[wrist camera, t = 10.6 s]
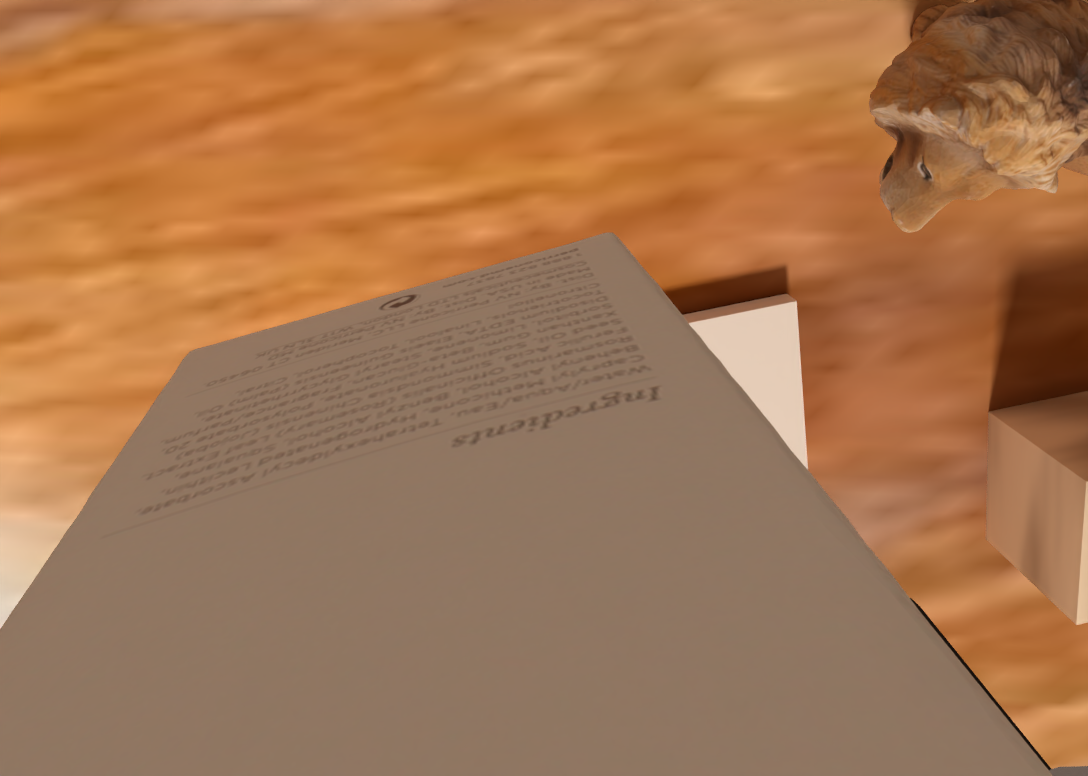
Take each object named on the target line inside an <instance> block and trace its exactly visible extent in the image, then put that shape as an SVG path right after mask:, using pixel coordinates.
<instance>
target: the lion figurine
mask: <svg viewBox="0 0 1088 776" xmlns="http://www.w3.org/2000/svg"><path fill="white" fill-rule="evenodd" d="M870 98H871V99H870V101H869V105H870V112H871V114H872V115H873V116H874V117H875V123H876V124H877V125H878V126H879V127H881V128H883V129H885V131H886V132H887V133H888V134H889V135H890V136H892V137H893V138H895V139H896V140H897V145H896V148H895V150H894V151H893V153H892V154H891V155H890V157H889V158H888V160H887V162H886V165H885V166H884V168H883V169H882V171H881V173H880V185H881V186H880V196H881V198H882V200H883V202H884V204H885V205H886V207H887V208H888V210H889V211H890V212H891V214H892V220H893V221H894V222H895V223H896V225H897V226H898V227H899V228H900V229H901V230H903V231H904V232H915V231H918V230H920V229H921V228H922V227H923V226H924V225H925V224H926V223H927V222H928V221H929V220H930V219H931V218H932V217H933V216H934V215H935V214H936V213H937V212H938V211H940V210H941V209H942V208H943V207H944V206H946V205H947V204H948V203H949V202H951V201H952V200H956V199H966V200H968V199H970V200H982V199H984V198H986V197H988V196H989V195H990V194H992V193H993V192H994V191H996V190H998V189H1000V188H1007V189H1030V188H1037V189H1042V190H1046V191H1048V192H1051V193H1056V191H1057V187H1058V175H1057V171H1058V170H1059V169H1060V168H1061V167H1064V168H1066V169H1069V170H1072V171H1075V172H1078V173H1081V174H1084V175H1087V176H1088V3H1086V2H1084V1H1082V0H976V1H975V2H972V3H967V2H961V3H959V4H956V5H954V6H951V7H950V8H949V7H947V6H945V5H936V6H933V7H931V8H928V9H926V10H924V11H923V12H922V13H921V14H920V15H919V16H918V17H917V19H916V20H915V21H914V24H913V32H912V43H911V44H910V45H909V47H908V48H907V49H906V50H905V51H904V52H902V53H900V54H899V55H897V56H896V57H895V58H894V60H893V61H892V65H891V66H889V67H888V68H887V69H886V70H885V71H884V72H883V74H882V75H881V77H880V78H879V80H878V83H877V86H876V88H875V90H874V91H873V92H872V93H871V95H870Z"/></svg>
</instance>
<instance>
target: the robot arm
mask: <svg viewBox="0 0 1088 776" xmlns="http://www.w3.org/2000/svg"><path fill="white" fill-rule="evenodd" d="M910 599H911V598H910ZM911 601H912V602H913V603H914V605H915V606H916V607H917V608H918V610H919V611H920V612H921V614H922V615H923V616H924V617H925V619H926V620H927V621H928V622H929V624H930V625H931V626H932V627H933V628H934V630H935V631H936V632H937V633H938V635H939V636H940V637H941V638H942V640H943V641H944V642H945V643H946V644H947V646H948V647H949V648H950V649H951V651H952V652H953V653H954V654H955V656H956V657H957V658H958V659H959V660H960V662H961V663H962V664H963V665H964V667H965V668H966V669H967V670H968V671H969V673H970V674H971V675H972V676H973V678H974V679H975V680H976V681H977V683H978V684H979V685H980V686H981V687H982V689H983V690H984V691H985V692H986V694H987V695H988V696H989V697H990V699H991V700H992V701H993V702H994V704H995V705H996V706H997V707H998V708H999V710H1000V711H1001V712H1002V713H1003V715H1004V716H1005V717H1006V718H1007V720H1008V721H1009V722H1010V723H1011V724H1012V726H1013V727H1014V728H1015V729H1016V731H1017V732H1018V733H1019V734H1020V736H1021V737H1022V738H1023V739H1024V741H1025V742H1026V743H1027V744H1028V745H1029V747H1030V748H1031V749H1032V750H1033V752H1034V753H1035V754H1036V755H1037V757H1038V758H1039V759H1040V760H1041V761H1042V763H1043V764H1044V765H1045V766H1046V768H1047V769H1048V770H1049V771H1050V773H1051V774H1052V775H1053V776H1088V766H1082V767H1058V768H1054V769H1051V768H1050V767H1049V766H1048V764H1047V763H1046V762H1045V761H1044V759H1043V758H1042V757H1041V756H1040V754H1039V753H1038V752H1037V751H1036V749H1035V748H1034V747H1033V746H1032V745H1031V743H1030V742H1029V741H1028V740H1027V738H1026V737H1025V736H1024V735H1023V733H1022V732H1021V731H1020V730H1019V728H1018V727H1017V726H1016V725H1015V724H1014V722H1013V721H1012V720H1011V719H1010V717H1009V716H1008V715H1007V714H1006V712H1005V711H1004V710H1003V709H1002V707H1001V706H1000V705H999V704H998V703H997V701H996V700H995V699H994V698H993V696H992V695H991V694H990V693H989V691H988V690H987V689H986V688H985V686H984V685H983V684H982V683H981V681H980V680H979V679H978V678H977V677H976V675H975V674H974V673H973V672H972V670H971V669H970V668H969V667H968V665H967V664H966V663H965V662H964V660H963V659H962V658H961V657H960V656H959V654H958V653H957V652H956V651H955V649H954V648H953V647H952V646H951V644H950V643H949V642H948V641H947V639H946V638H945V637H944V636H943V635H942V633H941V632H940V631H939V630H938V628H937V627H936V626H935V625H934V623H933V622H932V621H931V620H930V618H929V617H928V616H927V615H926V613H925V612H924V611H923V610H922V609H921V607H920V606H919V605H918V604H917V603H916V602H915V601H913V600H912V599H911Z"/></svg>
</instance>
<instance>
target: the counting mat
mask: <svg viewBox="0 0 1088 776" xmlns="http://www.w3.org/2000/svg"><path fill="white" fill-rule="evenodd" d="M683 316H684V318H685V319H686V321H687V322H688V323H689V325H690V326H691V327H692V328H693V329H694V330H695V331H696V332H697V334H698V335H699V336H700V337H701V338H702V340H703V341H704V343H705V344H706V345H707V347H708V348H709V349H710V350H711V351H712V352H713V353H714V355H715V356H716V357H717V358H718V359H719V360H720V361H721V362H722V364H723V365H724V367H725V368H726V369H727V371H728V372H729V373H730V375H731V376H732V377H733V378H734V379H735V381H736V382H737V383H738V384H739V385H740V386H741V387H742V388H743V390H744V391H745V392H746V393H747V395H748V396H749V397H750V398H751V400H752V401H753V402H754V403H755V405H756V406H757V407H758V408H759V410H760V411H761V412H762V413H763V415H764V416H765V417H766V418H767V419H768V421H769V422H770V423H771V424H772V426H773V427H774V428H775V429H776V431H777V432H778V433H779V435H780V436H781V437H782V439H783V440H784V441H785V443H786V444H787V446H788V447H789V448H790V450H791V451H792V452H793V453H794V454H795V455H796V457H797V458H798V459H799V460H800V461H801V462H802V464H803V465H804V466H805V467H806V468H807V469H808V464H807V449H806V434H805V420H804V405H803V390H802V375H801V360H800V345H799V330H798V316H797V301H796V300H794V299H793V298H792V297H791V296H789V295H788V294H782V295H777V296H772V297H767V298H763V299H758V300H753V301H748V302H743V303H738V304H733V305H728V306H723V307H718V308H714V309H709V310H704V311H699V312H694V313H689V314H684V315H683Z"/></svg>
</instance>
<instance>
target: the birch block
mask: <svg viewBox="0 0 1088 776" xmlns="http://www.w3.org/2000/svg"><path fill="white" fill-rule="evenodd" d="M986 540H987V541H988V542H989V543H991V544H992V545H993V546H994V547H995V548H996V549H997V550H998V551H999V552H1000V553H1001V554H1002V555H1003V556H1004V557H1005V558H1006V559H1007V560H1008V561H1009V562H1011V563H1012V564H1013V565H1014V566H1015V567H1016V568H1017V569H1018V570H1019V571H1020V572H1021V573H1022V574H1023V575H1024V576H1025V577H1026V578H1027V579H1028V580H1030V581H1031V582H1032V583H1033V584H1034V585H1035V586H1036V587H1037V588H1038V589H1039V590H1040V591H1041V592H1042V593H1043V594H1044V595H1045V596H1046V597H1047V598H1048V599H1050V600H1051V601H1052V602H1053V603H1054V604H1055V605H1056V606H1057V607H1058V608H1059V609H1060V610H1061V611H1062V612H1063V613H1064V614H1065V615H1066V616H1067V617H1069V618H1070V619H1071V620H1072V621H1073V622H1074V623H1075V624H1076V625H1078V624H1083V623H1087V622H1088V391H1084V392H1080V393H1075V394H1070V395H1065V396H1060V397H1056V398H1051V399H1046V400H1041V401H1037V402H1032V403H1027V404H1022V405H1018V406H1013V407H1008V408H1003V409H999V410H994V411H989V412H988V456H987V504H986Z"/></svg>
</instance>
